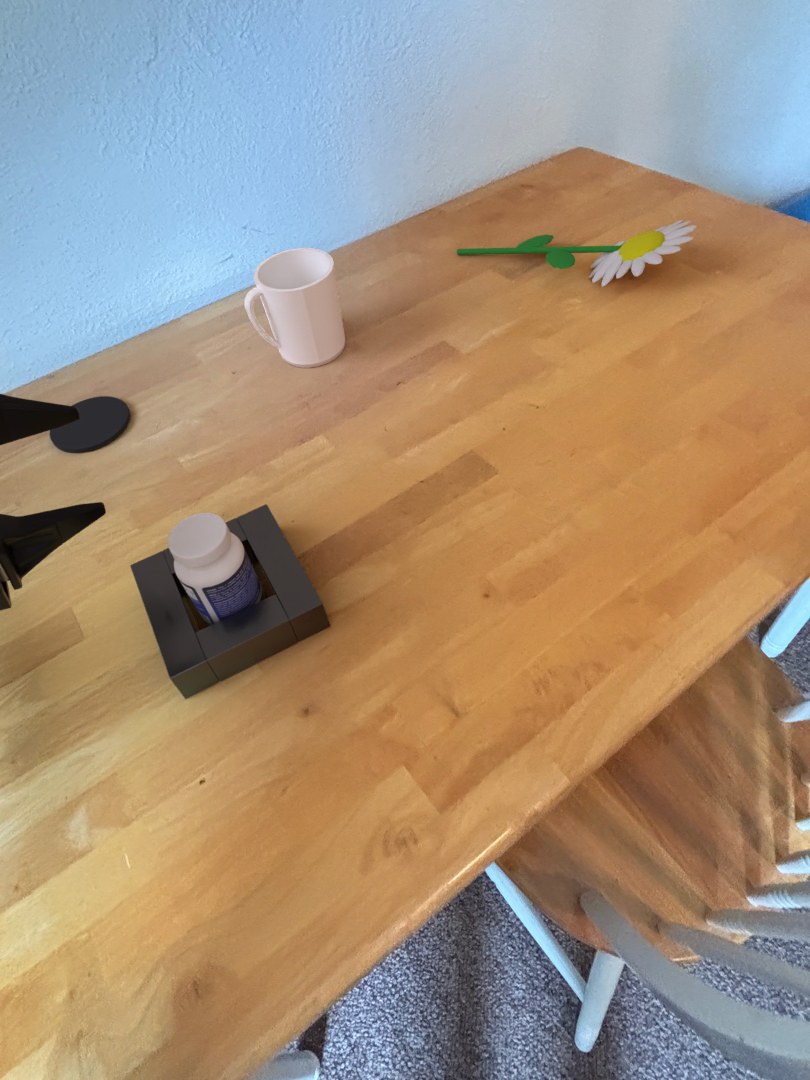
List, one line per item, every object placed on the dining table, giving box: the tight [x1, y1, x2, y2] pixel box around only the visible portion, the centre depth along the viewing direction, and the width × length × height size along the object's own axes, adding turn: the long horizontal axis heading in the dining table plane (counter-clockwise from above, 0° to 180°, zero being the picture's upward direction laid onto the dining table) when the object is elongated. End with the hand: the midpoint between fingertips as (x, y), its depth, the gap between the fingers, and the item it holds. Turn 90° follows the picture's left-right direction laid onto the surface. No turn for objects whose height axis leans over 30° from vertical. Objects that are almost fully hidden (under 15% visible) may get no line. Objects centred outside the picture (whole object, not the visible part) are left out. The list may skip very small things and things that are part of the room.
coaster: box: [49, 395, 132, 454], centre depth 80 cm, size 9×9×1 cm
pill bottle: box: [167, 512, 266, 627], centre depth 58 cm, size 6×6×10 cm
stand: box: [129, 504, 332, 700], centre depth 61 cm, size 13×13×4 cm
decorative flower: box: [456, 219, 698, 288], centre depth 89 cm, size 13×5×30 cm
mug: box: [244, 247, 347, 369], centre depth 81 cm, size 11×9×10 cm
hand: (91, 458), depth 53 cm, fingers open, 9 cm apart
